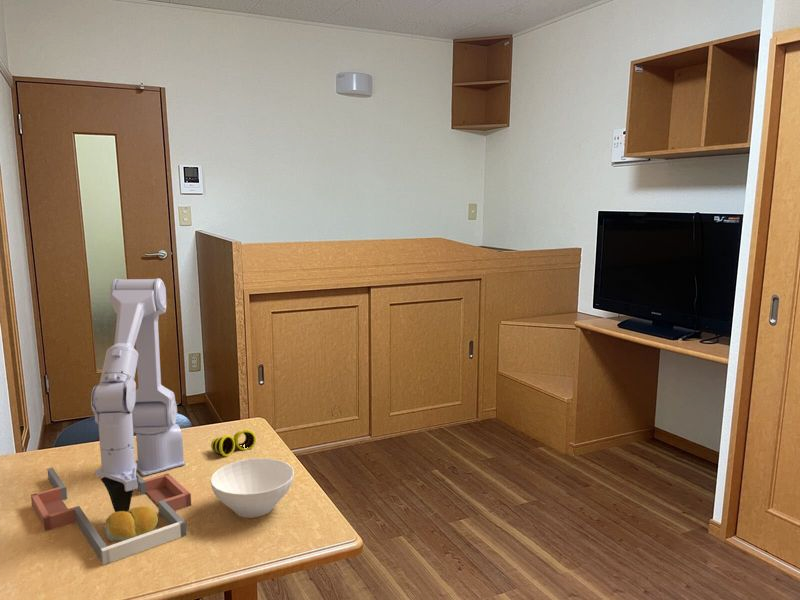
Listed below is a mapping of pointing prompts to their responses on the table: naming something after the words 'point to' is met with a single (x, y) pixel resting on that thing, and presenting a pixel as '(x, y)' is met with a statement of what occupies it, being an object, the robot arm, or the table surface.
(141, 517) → the bread roll
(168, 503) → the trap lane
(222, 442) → the opera glasses
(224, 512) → the table surface
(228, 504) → the bowl
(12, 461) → the table surface
